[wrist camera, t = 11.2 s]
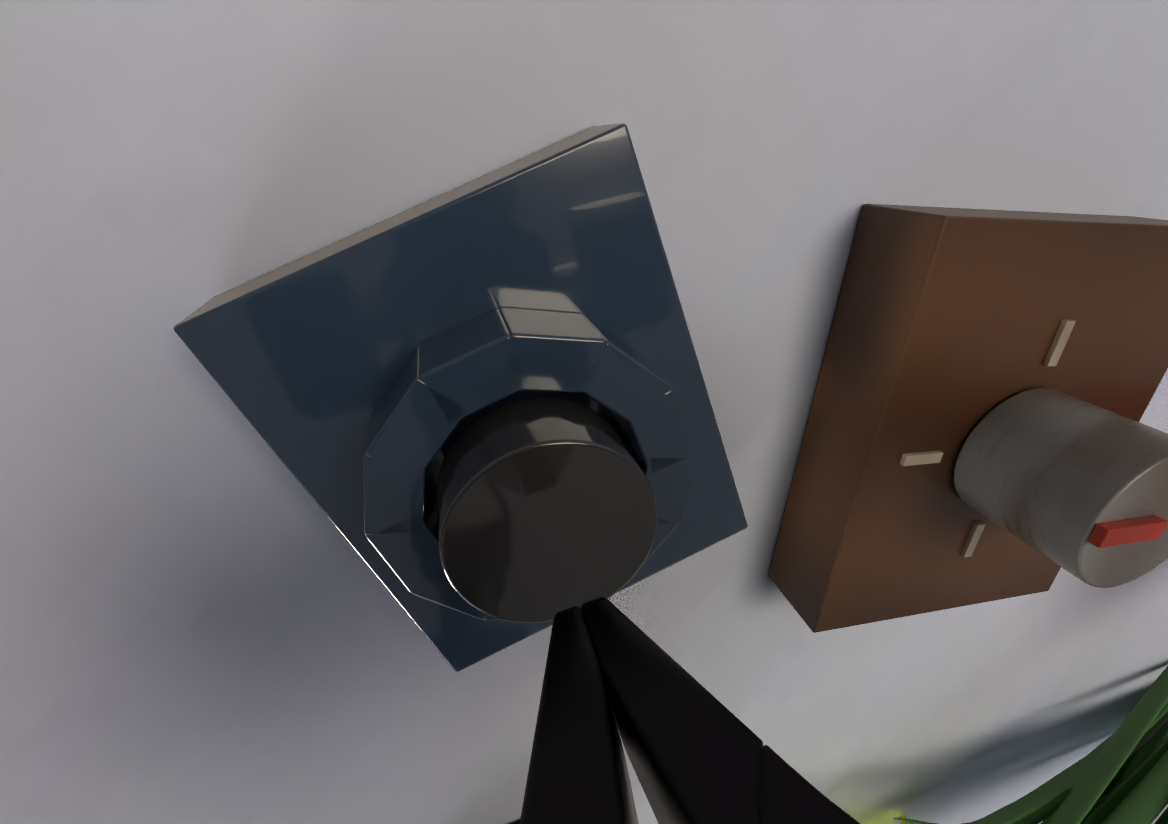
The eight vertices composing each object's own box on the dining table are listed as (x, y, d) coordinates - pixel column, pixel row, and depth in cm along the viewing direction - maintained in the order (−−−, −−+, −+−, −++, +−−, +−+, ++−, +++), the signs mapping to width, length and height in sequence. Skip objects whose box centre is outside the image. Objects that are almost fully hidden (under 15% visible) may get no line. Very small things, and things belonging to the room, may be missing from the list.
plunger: (650, 509, 14) (683, 564, 12) (490, 588, 14) (500, 655, 12) (588, 362, 12) (618, 401, 10) (398, 452, 12) (393, 509, 10)
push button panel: (712, 484, 19) (785, 571, 16) (452, 612, 19) (459, 735, 15) (594, 125, 14) (663, 118, 10) (212, 297, 13) (122, 363, 9)
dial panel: (983, 544, 25) (1052, 594, 22) (767, 575, 22) (816, 637, 20) (1131, 216, 19) (1250, 229, 16) (862, 203, 16) (951, 216, 14)
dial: (1091, 383, 18) (1271, 448, 14) (1035, 500, 20) (1180, 584, 16) (982, 389, 17) (1146, 462, 13) (933, 512, 18) (1064, 607, 15)
